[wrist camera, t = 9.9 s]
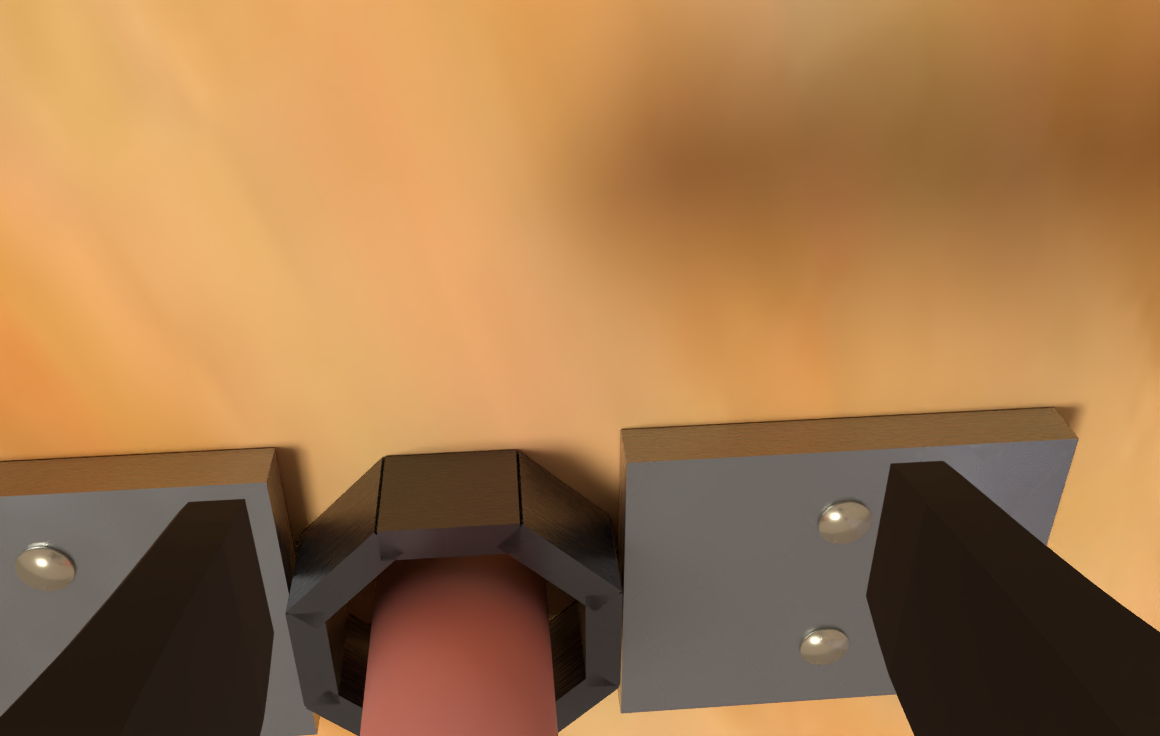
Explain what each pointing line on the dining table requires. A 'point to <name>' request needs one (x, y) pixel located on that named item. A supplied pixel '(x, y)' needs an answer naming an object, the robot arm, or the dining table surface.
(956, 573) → the robot arm
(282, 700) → the hinge
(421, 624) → the hinge pin
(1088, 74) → the dining table surface
